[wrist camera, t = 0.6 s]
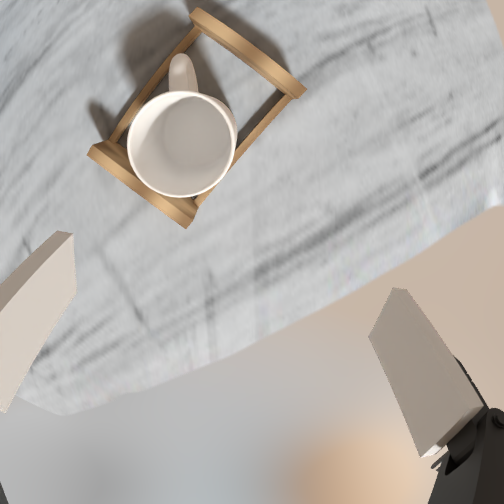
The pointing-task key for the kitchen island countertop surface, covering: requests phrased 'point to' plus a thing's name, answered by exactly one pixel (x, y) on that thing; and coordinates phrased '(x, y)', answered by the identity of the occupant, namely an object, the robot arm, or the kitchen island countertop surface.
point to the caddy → (112, 152)
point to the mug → (182, 137)
